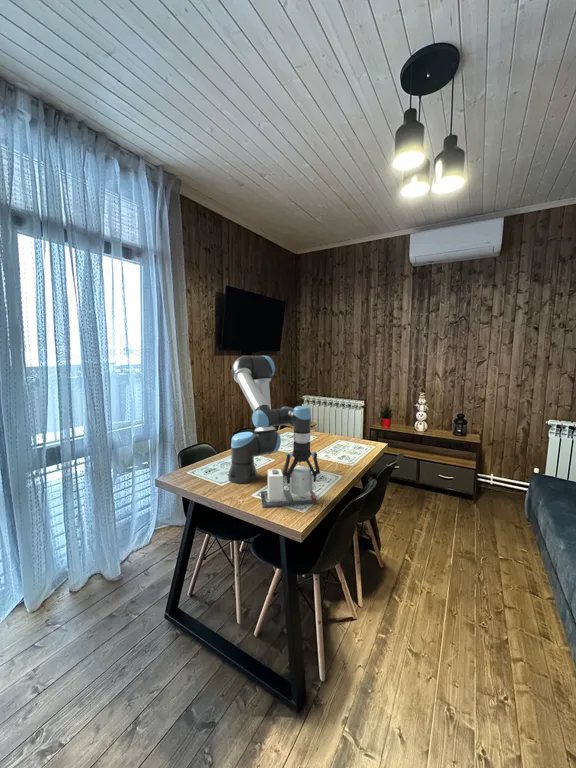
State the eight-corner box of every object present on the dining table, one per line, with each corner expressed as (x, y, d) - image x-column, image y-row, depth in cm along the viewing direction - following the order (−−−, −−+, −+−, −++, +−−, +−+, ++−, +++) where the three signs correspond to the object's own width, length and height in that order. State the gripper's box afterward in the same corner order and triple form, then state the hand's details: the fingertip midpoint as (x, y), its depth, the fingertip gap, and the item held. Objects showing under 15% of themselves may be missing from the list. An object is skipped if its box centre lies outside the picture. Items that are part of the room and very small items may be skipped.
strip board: (262, 507, 131) (262, 502, 131) (260, 494, 143) (260, 489, 143) (317, 503, 135) (317, 498, 135) (311, 491, 147) (311, 486, 146)
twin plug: (269, 500, 133) (269, 475, 132) (267, 492, 141) (267, 468, 140) (282, 500, 134) (283, 474, 133) (280, 491, 142) (280, 467, 141)
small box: (301, 487, 144) (301, 465, 143) (311, 490, 141) (311, 468, 140) (290, 492, 138) (291, 470, 137) (300, 496, 135) (301, 473, 134)
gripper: (278, 444, 132) (278, 494, 134) (328, 442, 135) (326, 491, 137) (276, 439, 139) (276, 487, 141) (323, 438, 143) (322, 484, 145)
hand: (301, 489), depth 139 cm, fingers closed on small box, 9 cm apart
